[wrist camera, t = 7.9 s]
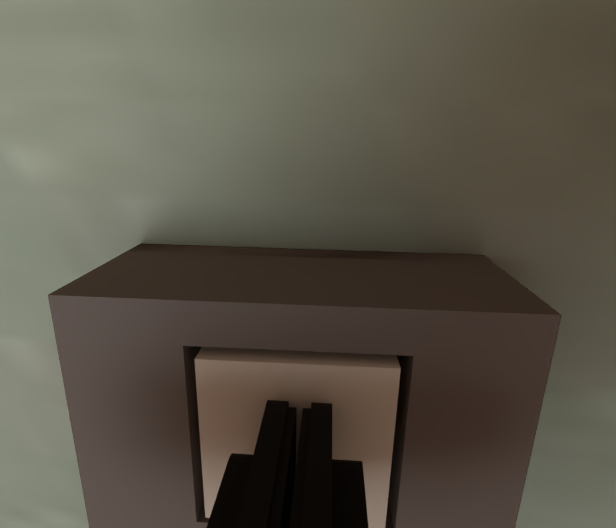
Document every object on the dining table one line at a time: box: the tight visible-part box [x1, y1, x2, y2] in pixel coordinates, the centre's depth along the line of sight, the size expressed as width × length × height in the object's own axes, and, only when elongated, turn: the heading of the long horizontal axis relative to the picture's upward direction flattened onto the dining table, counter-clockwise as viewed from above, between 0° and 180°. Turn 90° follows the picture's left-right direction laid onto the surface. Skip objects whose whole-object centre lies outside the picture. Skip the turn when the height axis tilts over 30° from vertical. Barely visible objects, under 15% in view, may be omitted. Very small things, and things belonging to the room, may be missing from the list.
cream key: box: [194, 347, 401, 528], centre depth 13 cm, size 5×5×4 cm
